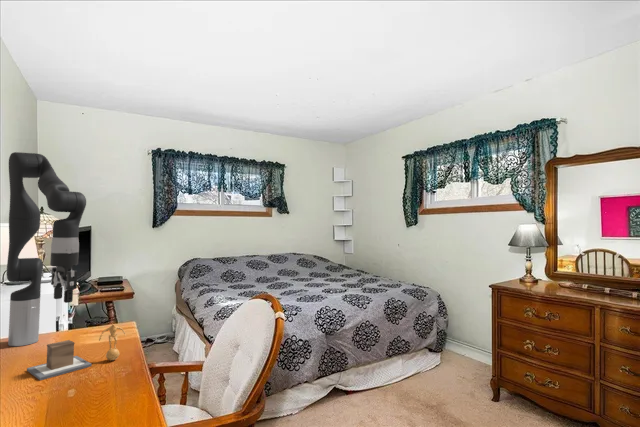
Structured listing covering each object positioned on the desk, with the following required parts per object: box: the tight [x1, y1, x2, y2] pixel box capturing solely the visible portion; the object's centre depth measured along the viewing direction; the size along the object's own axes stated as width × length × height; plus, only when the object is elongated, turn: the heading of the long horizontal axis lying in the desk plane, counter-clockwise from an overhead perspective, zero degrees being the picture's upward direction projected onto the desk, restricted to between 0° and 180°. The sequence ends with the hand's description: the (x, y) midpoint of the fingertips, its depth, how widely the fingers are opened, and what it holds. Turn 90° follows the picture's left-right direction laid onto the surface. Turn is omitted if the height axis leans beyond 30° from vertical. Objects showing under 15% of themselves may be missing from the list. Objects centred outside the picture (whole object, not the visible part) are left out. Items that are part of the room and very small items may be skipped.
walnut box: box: [46, 339, 76, 370], centre depth 116 cm, size 5×6×7 cm
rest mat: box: [26, 355, 93, 381], centre depth 116 cm, size 12×14×1 cm
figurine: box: [98, 324, 127, 361], centre depth 125 cm, size 8×6×12 cm
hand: (62, 300), depth 117 cm, fingers open, 8 cm apart
